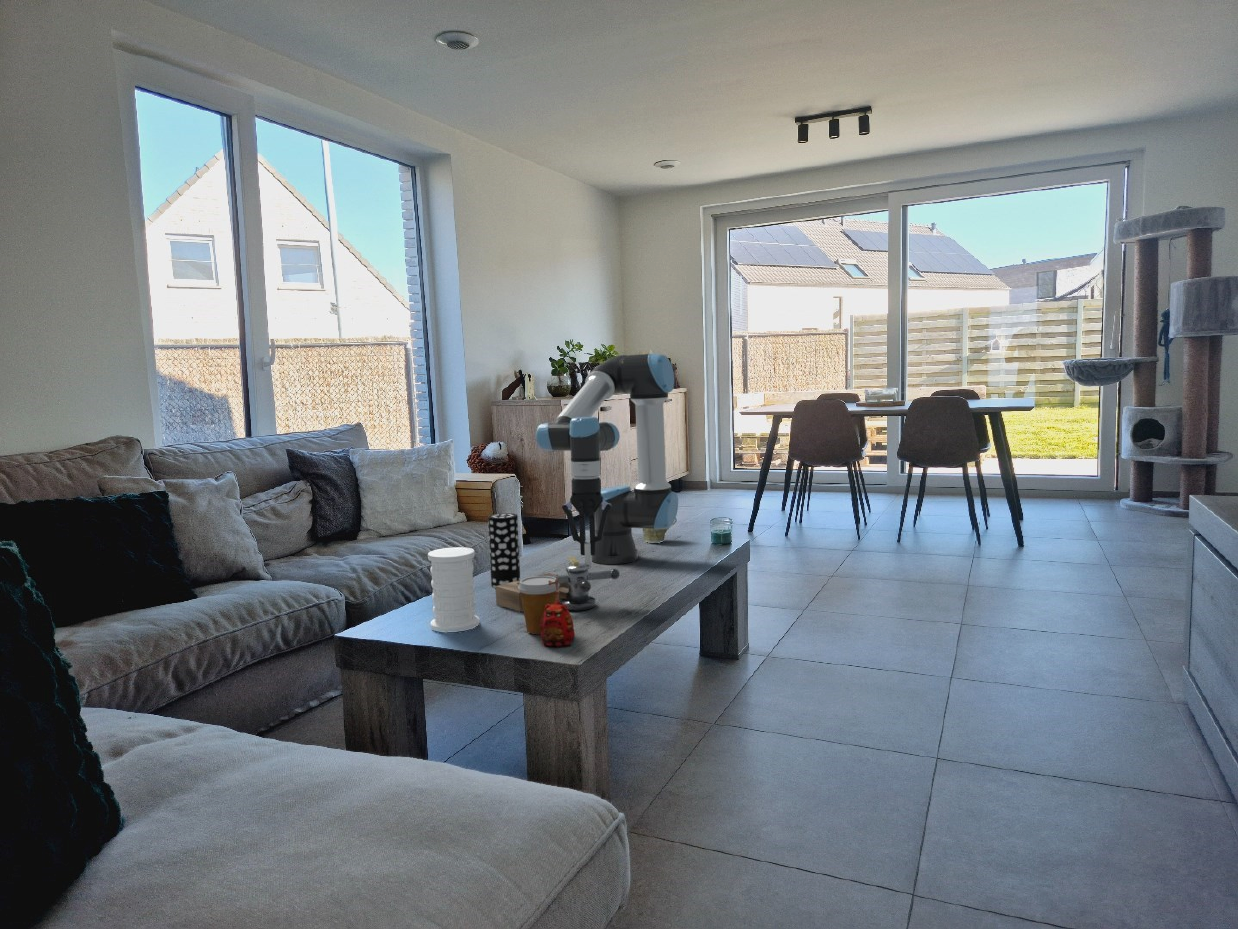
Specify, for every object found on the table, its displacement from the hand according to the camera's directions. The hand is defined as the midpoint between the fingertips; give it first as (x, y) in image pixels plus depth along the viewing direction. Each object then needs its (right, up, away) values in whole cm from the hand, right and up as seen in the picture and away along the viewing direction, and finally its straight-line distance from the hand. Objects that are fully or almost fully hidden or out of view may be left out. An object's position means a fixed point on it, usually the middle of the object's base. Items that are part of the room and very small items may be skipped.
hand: (588, 567), depth 209 cm
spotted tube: (-24, -8, +21) cm, 33 cm away
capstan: (-2, -10, -5) cm, 11 cm away
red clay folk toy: (-6, -13, -31) cm, 34 cm away
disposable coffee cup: (-10, -12, -22) cm, 27 cm away
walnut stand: (-12, -10, +1) cm, 15 cm away
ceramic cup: (+22, -1, +74) cm, 77 cm away
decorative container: (-31, -12, -16) cm, 37 cm away
